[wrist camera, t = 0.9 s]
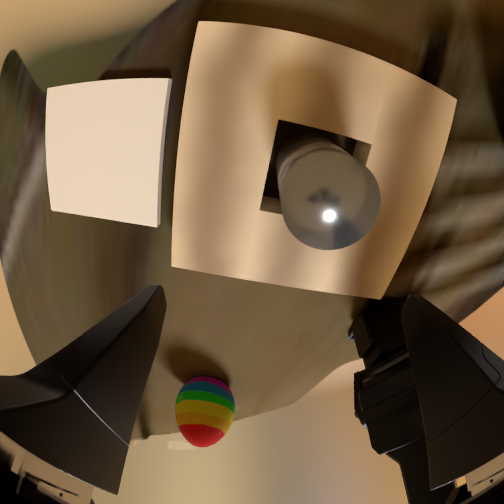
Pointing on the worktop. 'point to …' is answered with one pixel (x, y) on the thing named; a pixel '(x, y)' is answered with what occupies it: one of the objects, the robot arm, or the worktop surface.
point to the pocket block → (260, 147)
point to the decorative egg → (204, 410)
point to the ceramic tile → (107, 148)
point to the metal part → (325, 193)
